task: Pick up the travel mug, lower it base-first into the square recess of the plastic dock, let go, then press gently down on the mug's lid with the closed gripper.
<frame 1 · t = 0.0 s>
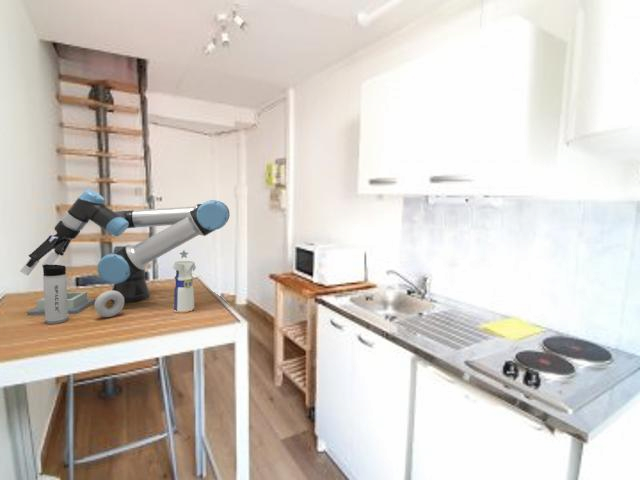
hand: (35, 269, 130), 15 cm above the table, tool tilted 35°, fingers open, 13 cm apart
water bottle: (184, 310, 137), on the table
travel mug: (56, 321, 119), on the table
dock: (63, 307, 134), on the table
donut: (110, 317, 126), on the table
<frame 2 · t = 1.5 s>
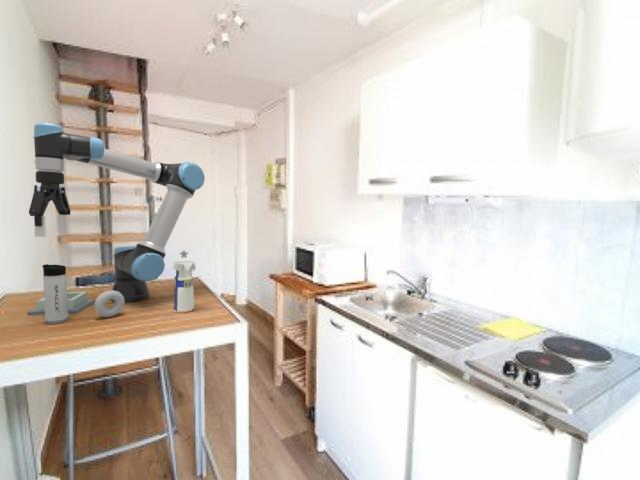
hand: (52, 234, 116), 30 cm above the table, tool pointing down, fingers open, 13 cm apart
nothing on the table moved.
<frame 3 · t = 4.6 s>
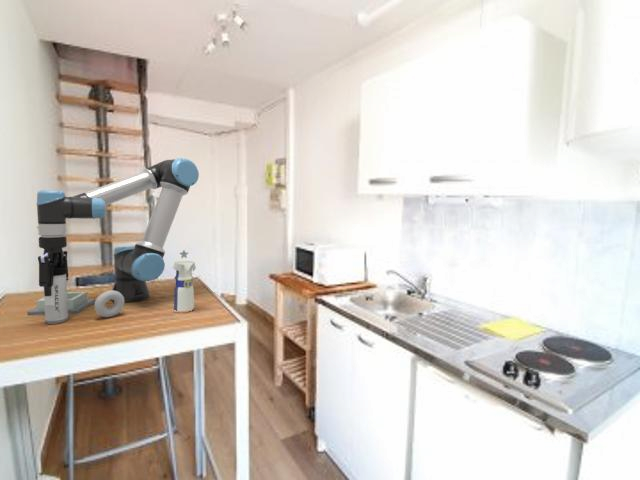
hand: (55, 301, 119), 7 cm above the table, tool pointing down, fingers closed on travel mug, 6 cm apart
travel mug: (56, 321, 119), on the table, touching gripper
everything else where it was.
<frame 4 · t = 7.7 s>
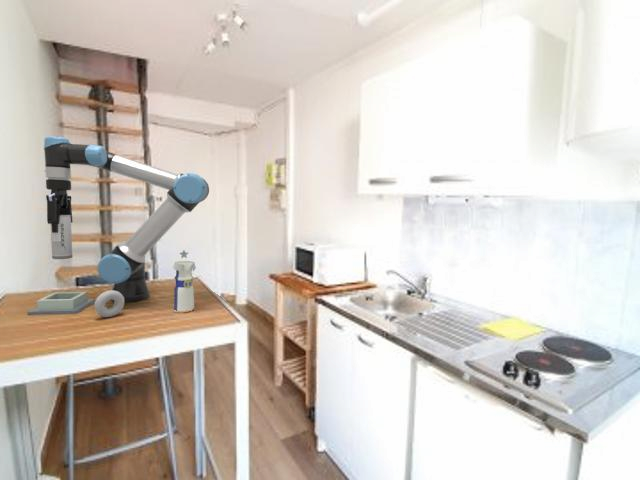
hand: (61, 240, 131), 27 cm above the table, tool pointing down, fingers closed on travel mug, 6 cm apart
travel mug: (62, 258, 131), point 20 cm above the table, touching gripper
everything else where it was.
when the fingers open (9 cm above the table, at t = 10.6 s): travel mug drops 1 cm, resting on dock.
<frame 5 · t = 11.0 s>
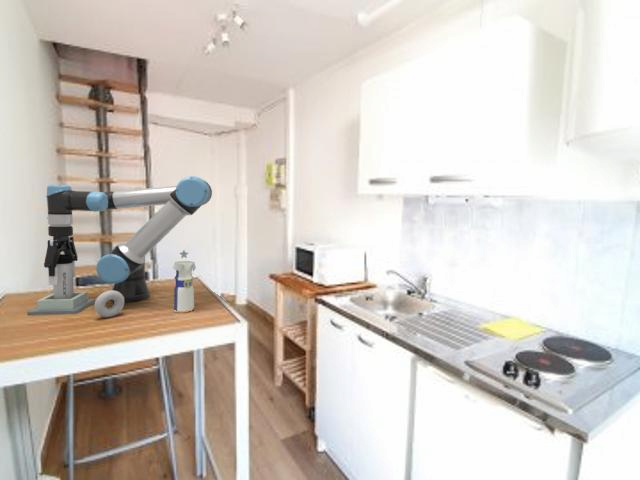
hand: (62, 280, 133), 11 cm above the table, tool pointing down, fingers open, 12 cm apart
travel mug: (63, 305, 134), point 1 cm above the table, touching dock
everything else where it was.
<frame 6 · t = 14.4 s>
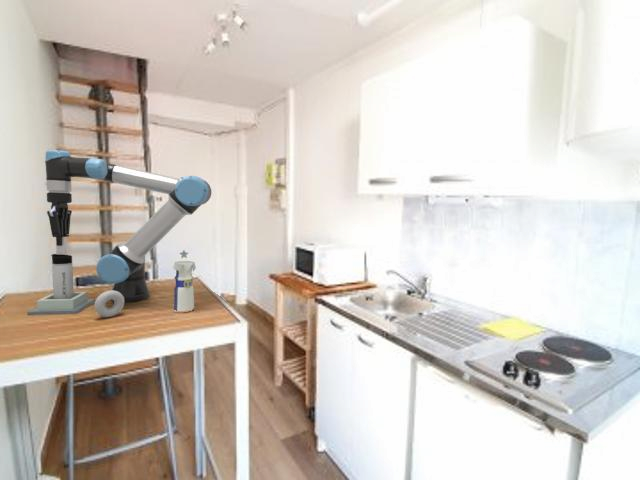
hand: (61, 253, 132), 21 cm above the table, tool pointing down, fingers closed
travel mug: (63, 305, 134), point 1 cm above the table, touching dock, gripper
everything else where it was.
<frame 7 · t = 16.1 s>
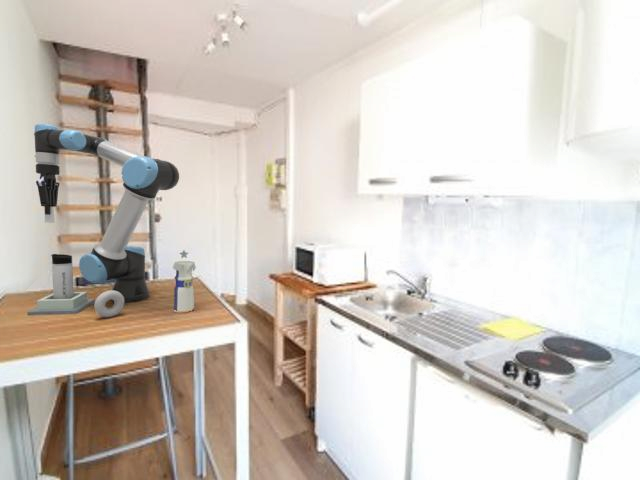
hand: (49, 222, 140), 33 cm above the table, tool pointing down, fingers closed
travel mug: (63, 305, 134), point 1 cm above the table, touching dock
everything else where it was.
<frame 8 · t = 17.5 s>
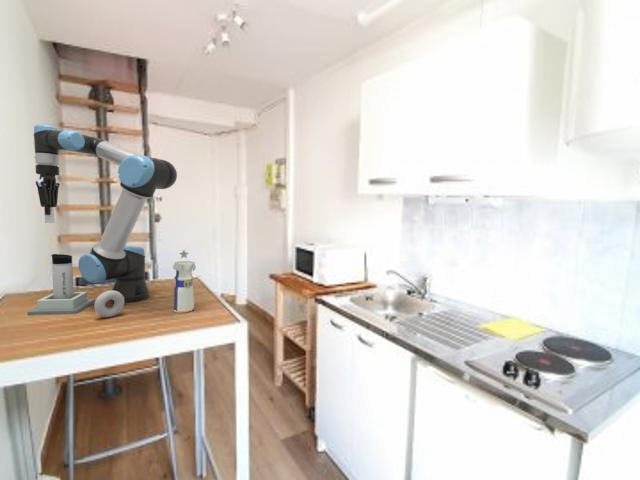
hand: (49, 222, 141), 32 cm above the table, tool pointing down, fingers closed
nothing on the table moved.
at the end: travel mug 0.1 cm off-centre on the dock, point 1.0 cm above the dock's base; travel mug tilted 0°; the gripper is holding nothing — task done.
